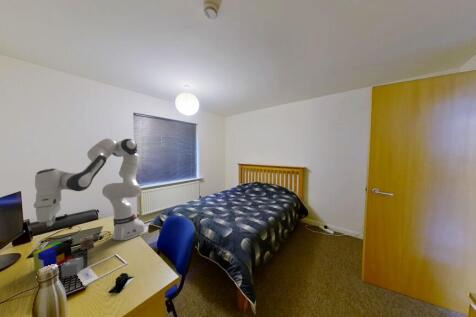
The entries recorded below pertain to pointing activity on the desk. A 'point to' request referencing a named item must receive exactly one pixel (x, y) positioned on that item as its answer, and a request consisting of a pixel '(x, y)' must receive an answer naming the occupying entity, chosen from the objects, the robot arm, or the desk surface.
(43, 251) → the puzzle toy
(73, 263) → the grey block
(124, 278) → the black irregular block
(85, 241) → the walnut block
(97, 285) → the desk surface
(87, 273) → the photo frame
